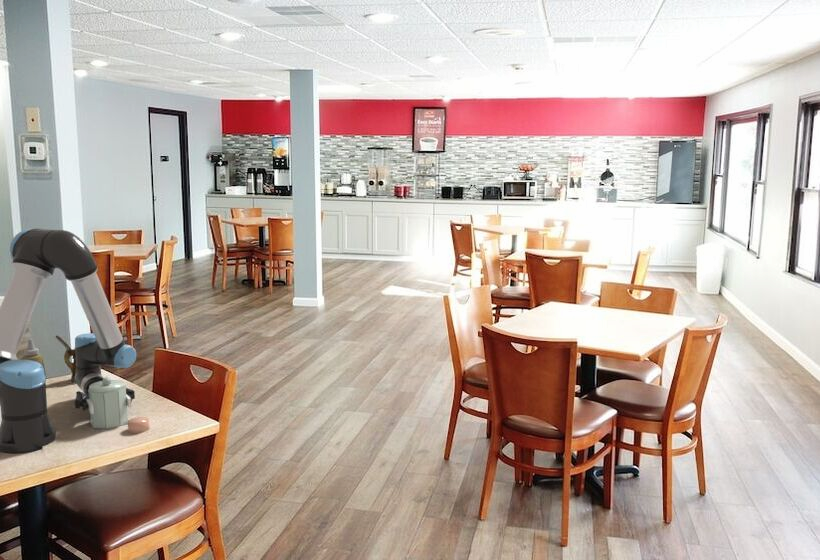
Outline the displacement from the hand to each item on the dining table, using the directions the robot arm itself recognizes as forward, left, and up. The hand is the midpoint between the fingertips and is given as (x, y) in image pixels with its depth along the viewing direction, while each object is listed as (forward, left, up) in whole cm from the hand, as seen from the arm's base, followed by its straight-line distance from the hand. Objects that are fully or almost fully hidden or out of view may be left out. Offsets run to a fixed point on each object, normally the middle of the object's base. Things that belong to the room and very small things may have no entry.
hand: (111, 406), depth 220 cm
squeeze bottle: (-14, +56, -7) cm, 58 cm away
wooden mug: (+1, +59, -7) cm, 60 cm away
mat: (0, +4, -7) cm, 8 cm away
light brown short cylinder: (+6, -7, -7) cm, 11 cm away
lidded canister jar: (0, +4, -6) cm, 8 cm away
